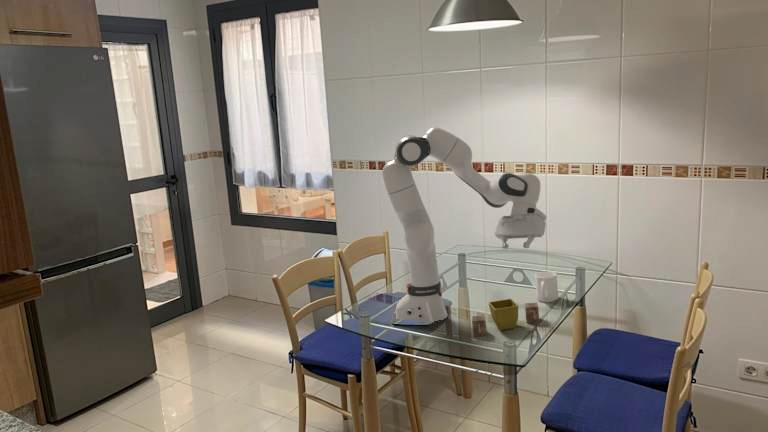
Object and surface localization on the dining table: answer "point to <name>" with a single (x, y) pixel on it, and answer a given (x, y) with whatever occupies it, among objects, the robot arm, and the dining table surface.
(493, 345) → the dining table surface
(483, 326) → the numbered block one
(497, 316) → the flower pot
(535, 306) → the numbered block seven
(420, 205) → the robot arm
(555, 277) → the mug
